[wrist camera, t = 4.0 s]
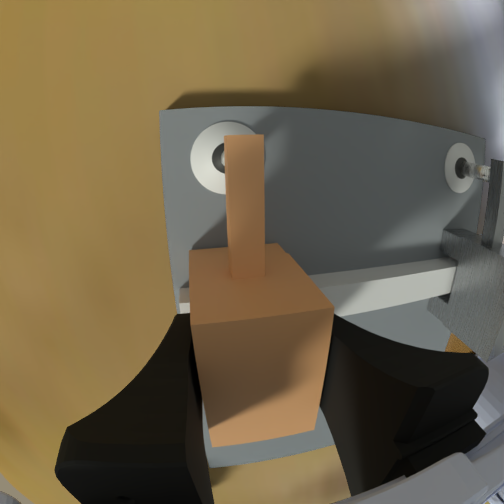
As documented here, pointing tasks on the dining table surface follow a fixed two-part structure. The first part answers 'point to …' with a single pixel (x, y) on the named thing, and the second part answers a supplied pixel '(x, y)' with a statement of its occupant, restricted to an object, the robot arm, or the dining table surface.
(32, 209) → the dining table surface
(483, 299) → the fixed leg
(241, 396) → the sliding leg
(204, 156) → the board
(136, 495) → the robot arm
